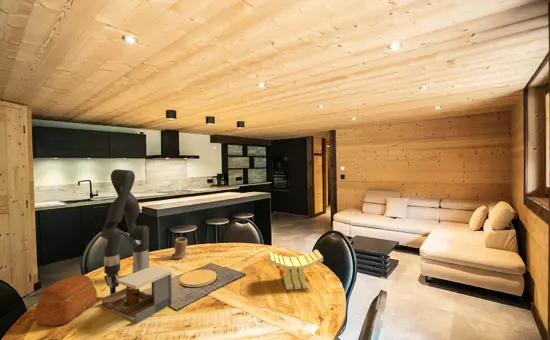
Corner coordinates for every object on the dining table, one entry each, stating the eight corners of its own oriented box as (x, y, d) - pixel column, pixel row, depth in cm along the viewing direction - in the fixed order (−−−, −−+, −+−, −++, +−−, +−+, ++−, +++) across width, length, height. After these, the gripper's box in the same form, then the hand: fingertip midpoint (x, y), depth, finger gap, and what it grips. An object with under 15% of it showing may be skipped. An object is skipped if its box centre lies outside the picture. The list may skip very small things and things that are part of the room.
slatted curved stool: (316, 275, 167) (315, 248, 167) (323, 287, 151) (322, 256, 151) (269, 278, 164) (269, 250, 164) (272, 290, 148) (271, 259, 148)
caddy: (102, 304, 135) (102, 298, 135) (131, 291, 149) (131, 285, 149) (125, 314, 126) (124, 307, 126) (154, 299, 140) (154, 293, 140)
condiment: (140, 304, 136) (140, 281, 136) (122, 309, 131) (121, 286, 131) (139, 298, 142) (138, 276, 142) (121, 303, 137) (120, 280, 137)
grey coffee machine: (109, 311, 129) (108, 276, 129) (145, 294, 146) (144, 263, 146) (137, 324, 119) (136, 286, 118) (172, 304, 135) (171, 270, 135)
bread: (30, 327, 118) (28, 290, 118) (69, 302, 140) (68, 271, 139) (67, 327, 117) (65, 290, 117) (101, 302, 139) (100, 271, 138)
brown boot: (185, 259, 200) (184, 240, 200) (169, 260, 200) (168, 240, 199) (190, 253, 215) (190, 235, 215) (176, 253, 215) (175, 235, 214)
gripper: (98, 263, 144) (99, 294, 144) (111, 267, 138) (112, 300, 138) (112, 258, 151) (113, 288, 151) (125, 262, 144) (126, 293, 144)
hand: (113, 294), depth 144 cm, fingers closed
